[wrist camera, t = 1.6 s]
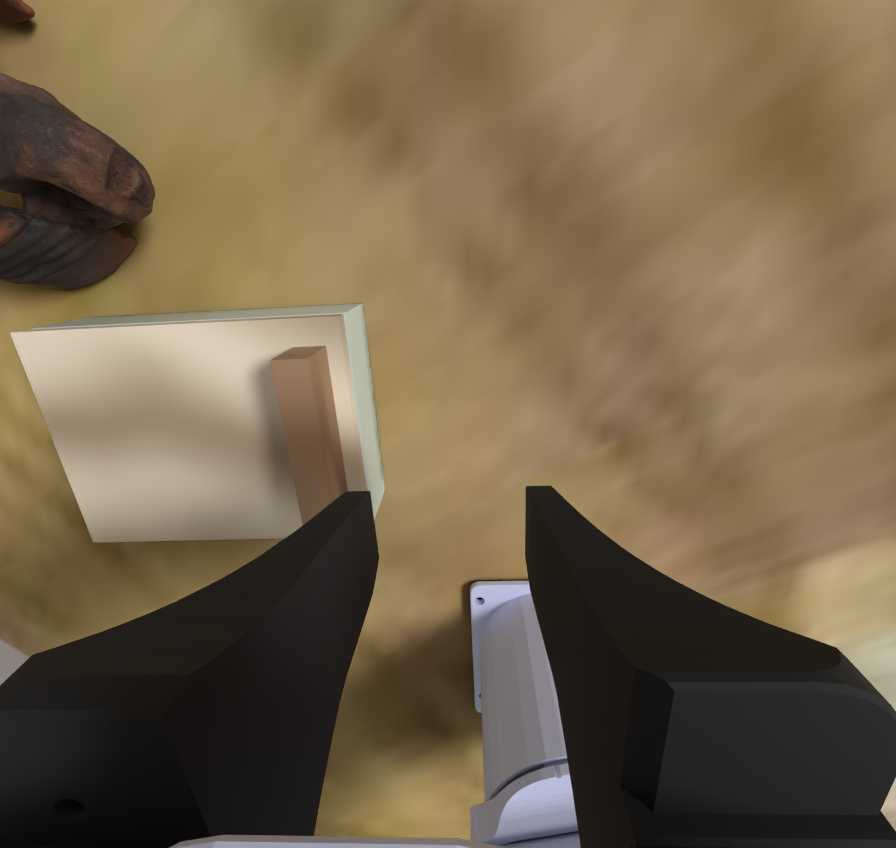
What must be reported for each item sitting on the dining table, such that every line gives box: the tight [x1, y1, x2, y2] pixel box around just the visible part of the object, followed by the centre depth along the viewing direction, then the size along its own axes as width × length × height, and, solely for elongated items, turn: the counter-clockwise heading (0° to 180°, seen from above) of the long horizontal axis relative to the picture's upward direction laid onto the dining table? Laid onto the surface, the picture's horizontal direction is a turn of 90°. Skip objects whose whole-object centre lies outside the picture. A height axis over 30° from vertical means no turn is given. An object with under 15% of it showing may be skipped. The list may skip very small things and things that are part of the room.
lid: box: [10, 314, 367, 543], centre depth 17 cm, size 9×12×3 cm
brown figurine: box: [0, 0, 155, 289], centre depth 15 cm, size 12×10×8 cm
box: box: [32, 303, 385, 520], centre depth 20 cm, size 9×12×3 cm
